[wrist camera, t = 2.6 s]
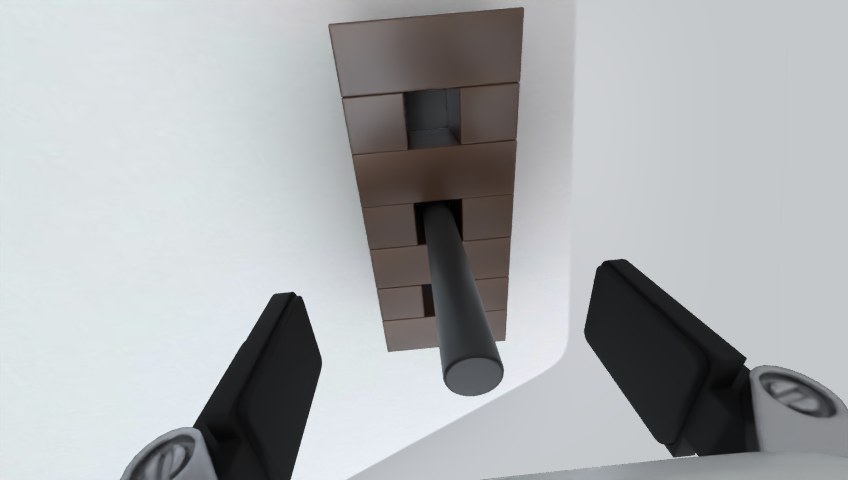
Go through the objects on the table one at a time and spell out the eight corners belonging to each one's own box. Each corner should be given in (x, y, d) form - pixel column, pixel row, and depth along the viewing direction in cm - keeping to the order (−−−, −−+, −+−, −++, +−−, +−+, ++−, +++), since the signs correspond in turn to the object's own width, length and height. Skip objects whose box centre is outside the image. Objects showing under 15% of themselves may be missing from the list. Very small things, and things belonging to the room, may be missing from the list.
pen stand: (348, 37, 16) (327, 23, 12) (492, 24, 16) (524, 6, 12) (391, 300, 24) (387, 352, 20) (487, 291, 24) (505, 340, 20)
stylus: (418, 179, 20) (442, 358, 7) (442, 177, 20) (506, 352, 7) (420, 201, 20) (445, 400, 8) (444, 199, 20) (503, 394, 8)
